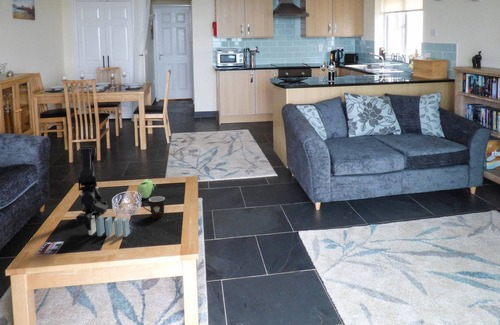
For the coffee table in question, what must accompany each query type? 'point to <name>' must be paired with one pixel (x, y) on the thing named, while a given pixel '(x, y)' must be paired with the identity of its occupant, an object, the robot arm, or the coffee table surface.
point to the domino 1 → (92, 226)
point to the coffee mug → (156, 206)
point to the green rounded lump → (145, 188)
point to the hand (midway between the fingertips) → (91, 228)
